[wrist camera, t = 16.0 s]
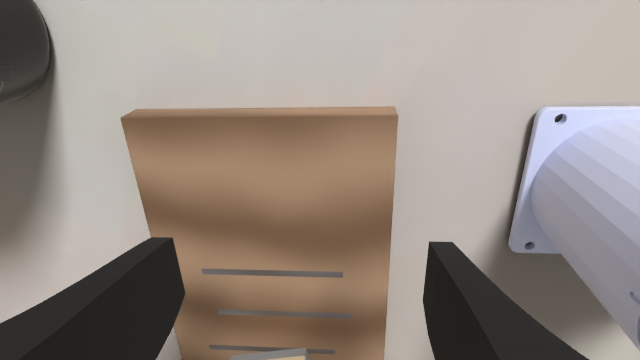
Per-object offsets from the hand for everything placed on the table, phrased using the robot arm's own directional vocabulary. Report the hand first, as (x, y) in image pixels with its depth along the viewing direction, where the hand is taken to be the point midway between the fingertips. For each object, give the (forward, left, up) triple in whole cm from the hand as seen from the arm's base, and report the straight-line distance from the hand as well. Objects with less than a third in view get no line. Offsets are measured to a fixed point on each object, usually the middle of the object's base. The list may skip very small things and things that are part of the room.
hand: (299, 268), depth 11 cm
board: (+3, +10, -10) cm, 14 cm away
